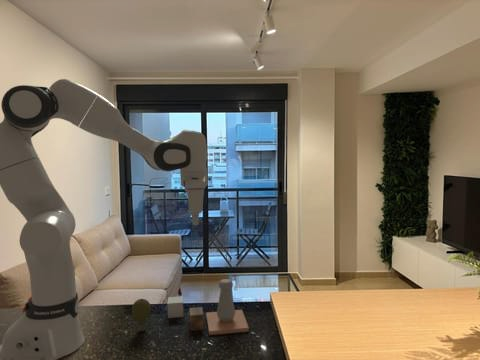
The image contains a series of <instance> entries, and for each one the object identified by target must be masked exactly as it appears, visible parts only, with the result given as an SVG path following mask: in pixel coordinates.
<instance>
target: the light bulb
mask: <svg viewBox="0 0 480 360" xmlns="http://www.w3.org/2000/svg"><path fill="white" fill-rule="evenodd" d="M151 310H152V306H151V303H150V302H149V301H148V300H147V299H145V298H139V299H137V300H135V302H133V304H132V307H131V313H132V315H133V317H134V319H135V321H136V325H137V330H138V331H139V332H144V331H145V330H146V329H147V321H148V319H149V315H150V313H151Z"/></svg>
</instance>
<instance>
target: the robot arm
mask: <svg viewBox="0 0 480 360" xmlns="http://www.w3.org/2000/svg"><path fill="white" fill-rule="evenodd" d="M0 103H1V111H2V114H3V116H4V117H3V120H2V121H1V122H0V188H1V189H2V191H3V194H4V195H5V197H6V199H7V201H8V202H9V203H10V204H12V205H13V206H14V208H16V209H17V210H18V212H19V213H20V214H21V215H22V217H24V219H25V220H26V222H25V224H24V225H23V227H22V229H21V231H20V235H19V246H20V248H21V250H22V251H23V253H24V257H25V262H26V265H27V268H28V272H29V279H30V282H29V283H30V292H31V294H30V295H31V296H30V297H29V298H28V299H27V302H26V303H24V306H23V307H22V308H21V309H22V313H24V314H23V315H22V316H21V317H20V318H18V319H17V320H16V321H15V322H14V323H13V324H11V325H10V326H9V327H8V329H7V330H6V331H5V332H4V335H3V338H2V343H1V344H0V360H58V359H61V358H63V357H65V356H68V355H70V354H72V353H74V352H75V351H77V350H78V349H80V348H81V347H82V346H83V344H84V343H85V341H86V338H85V336H84V333H83V330H82V327H81V323H80V318H79V312H80V304H79V303H80V300H79V296H78V292H77V288H76V287H77V286H76V268H75V266H74V261H73V258H72V252H71V238H72V235H73V234H74V232H75V230H76V225H77V224H76V219H75V217H74V214H73V212H71V210H70V208H69V206H68V205H67V204H66V202H65V201H64V199H63V197H62V196H61V195H60V193H59V192H58V191H57V189H56V188H55V186H54V184H53V183H52V181H51V179H50V176H49V175H48V174H47V170H46V169H45V167H44V165H43V162H42V161H41V160H40V157H39V154H38V153H37V151H36V150H35V147H34V145H33V141H32V138H33V137H34V136H36V135H37V134H38V133H40V132H41V131H42V130H44V129H45V128H46V127H47V126H48V125H49V123H50V121H51V120H54V119H60V120H64V121H66V122H69V123H71V124H72V125H74V126H76V127H77V128H79V129H80V130H83V131H84V132H87V133H89V134H92V135H94V136H97V137H100V138H103V139H107V140H111V141H115V142H117V143H119V144H121V145H122V146H125V147H126V148H128V149H129V150H132V151H133V152H135V153H137V154H138V155H140V156H141V157H142V158H143V160H144V161H145V162H146V163H147V165H148V166H149V167H150V168H152V170H155V171H162V172H174V171H177V170H180V175H179V176H180V186H181V187H183V189H184V191H185V192H186V194H187V202H188V208H189V212H190V214H191V219H192V225H193V226H199V222H200V221H199V219H200V214H201V213H202V212H203V206H204V195H205V189H206V187H207V186H208V185H209V184H208V181H209V180H208V178H209V176H208V168H207V167H208V166H207V161H208V148H207V147H208V146H207V139H206V136H205V135H204V134H203V133H202V132H199V131H195V130H189V129H184V130H181V132H180V133H178V134H176V135H174V136H173V137H171V138H169V139H166V140H157V139H152V138H150V137H148V136H147V135H145V134H144V133H142V132H141V131H139V130H137V129H136V128H134V127H132V126H131V125H129V124H128V122H127V121H126V120H125V119H124V117H123V116H122V113H121V112H120V109H118V107H117V106H116V105H114V103H112V102H110V101H109V100H108V99H106V98H105V97H104V96H102V95H100V94H98V93H97V92H96V91H94V90H92V89H90V88H89V87H86V86H84V85H82V84H80V83H77V82H75V81H72V80H70V79H67V78H62V79H61V78H60V79H58V80H56V81H55V82H53V83H52V84H51V85H50V87H47V86H39V85H38V86H36V85H27V84H26V85H22V84H21V85H15V86H13V87H11V88H9V89H8V90H7V91H6V92H5V93H4V94H3V96H2V99H1V102H0Z"/></svg>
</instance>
